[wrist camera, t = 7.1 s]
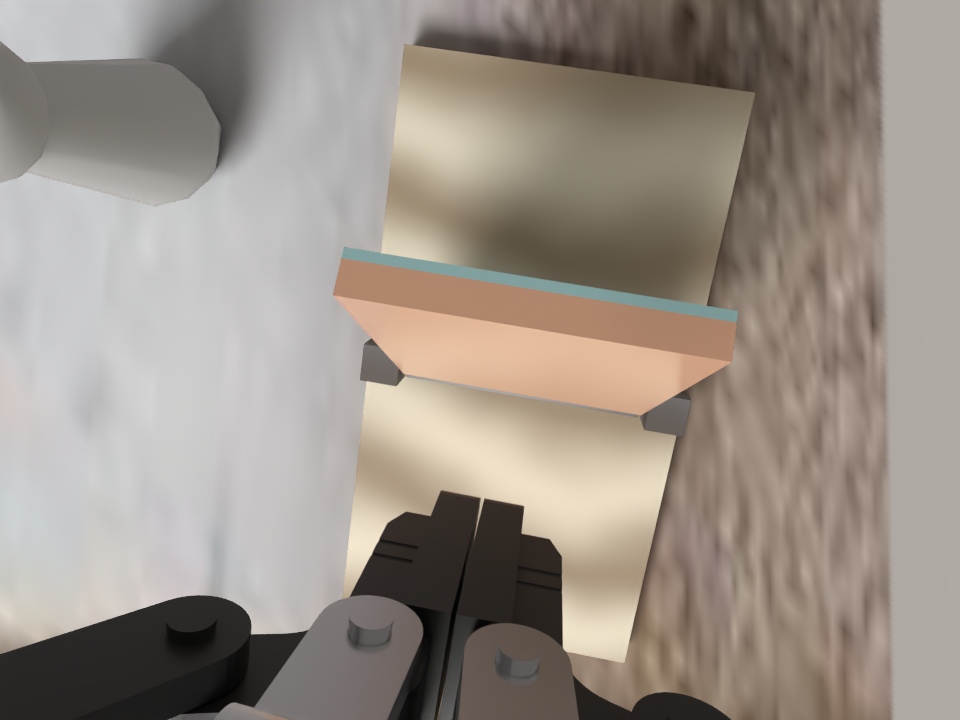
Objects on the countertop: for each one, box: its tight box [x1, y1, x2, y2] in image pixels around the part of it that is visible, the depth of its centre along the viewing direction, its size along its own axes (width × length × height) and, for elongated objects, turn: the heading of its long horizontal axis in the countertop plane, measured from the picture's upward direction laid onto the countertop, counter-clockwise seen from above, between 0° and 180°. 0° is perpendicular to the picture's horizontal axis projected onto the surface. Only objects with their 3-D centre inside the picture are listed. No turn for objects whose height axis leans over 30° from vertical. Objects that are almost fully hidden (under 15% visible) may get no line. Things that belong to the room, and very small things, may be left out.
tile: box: [333, 247, 738, 417], centre depth 24 cm, size 13×10×1 cm
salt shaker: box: [0, 42, 222, 206], centre depth 25 cm, size 6×6×13 cm
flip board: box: [342, 44, 755, 663], centre depth 31 cm, size 26×14×3 cm, turn 171°
